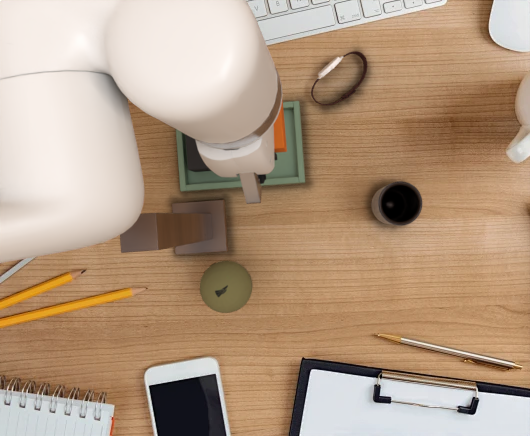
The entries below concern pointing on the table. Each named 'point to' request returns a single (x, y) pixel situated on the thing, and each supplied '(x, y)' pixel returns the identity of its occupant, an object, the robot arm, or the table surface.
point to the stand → (180, 229)
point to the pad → (194, 156)
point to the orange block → (280, 132)
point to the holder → (284, 173)
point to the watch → (331, 66)
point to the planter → (397, 203)
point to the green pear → (226, 286)
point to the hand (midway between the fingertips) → (258, 128)
